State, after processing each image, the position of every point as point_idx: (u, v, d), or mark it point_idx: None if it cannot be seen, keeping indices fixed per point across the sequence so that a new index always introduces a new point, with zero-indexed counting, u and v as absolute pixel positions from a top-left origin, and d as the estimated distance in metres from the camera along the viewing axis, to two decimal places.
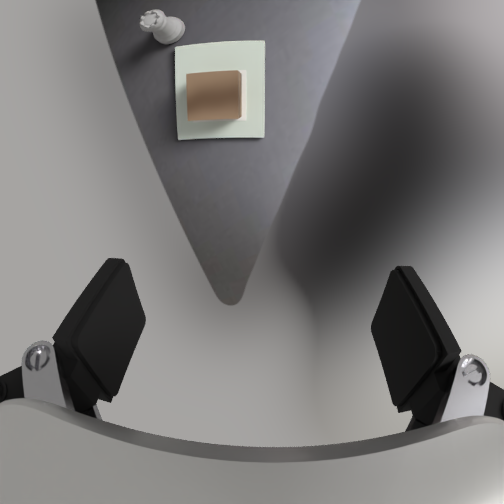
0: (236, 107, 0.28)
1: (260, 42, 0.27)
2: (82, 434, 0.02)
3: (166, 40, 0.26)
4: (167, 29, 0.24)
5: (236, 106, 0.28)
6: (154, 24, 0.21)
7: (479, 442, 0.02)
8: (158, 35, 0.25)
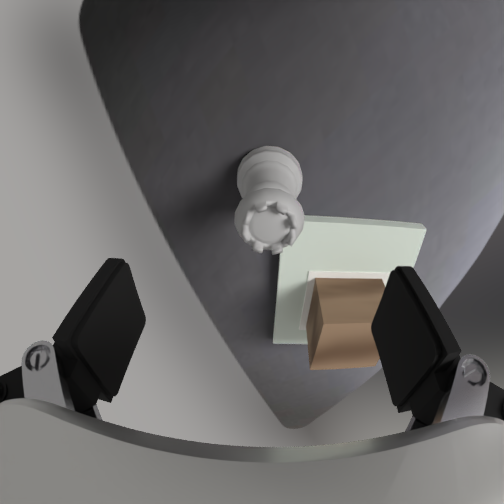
0: (378, 357, 0.20)
1: (420, 231, 0.19)
2: (82, 434, 0.02)
3: None
4: None
5: (378, 356, 0.20)
6: (281, 245, 0.12)
7: (479, 442, 0.02)
8: None
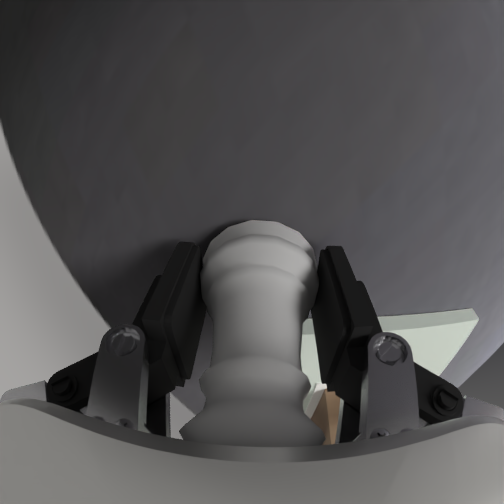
0: None
1: (471, 323, 0.11)
2: (82, 434, 0.02)
3: None
4: None
5: None
6: None
7: (479, 442, 0.02)
8: None
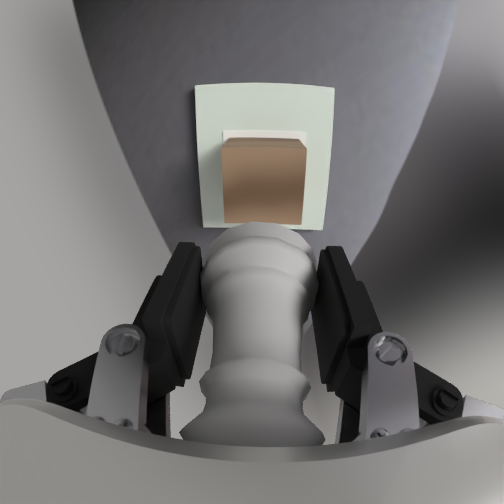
0: (300, 208, 0.20)
1: (327, 90, 0.20)
2: (82, 434, 0.02)
3: None
4: None
5: (300, 207, 0.20)
6: None
7: (479, 442, 0.02)
8: None
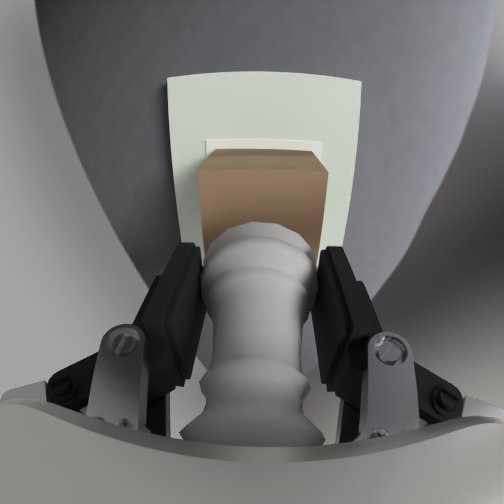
0: None
1: (352, 83, 0.13)
2: (82, 434, 0.02)
3: None
4: None
5: (314, 255, 0.14)
6: None
7: (479, 442, 0.02)
8: None
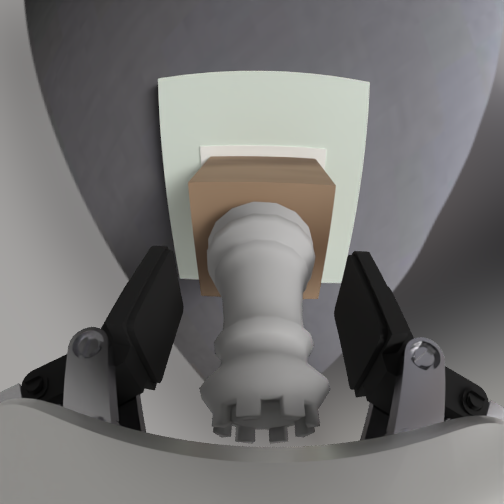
0: (318, 277, 0.13)
1: (360, 84, 0.12)
2: (82, 434, 0.02)
3: None
4: None
5: (318, 275, 0.13)
6: (286, 430, 0.06)
7: (479, 442, 0.02)
8: None
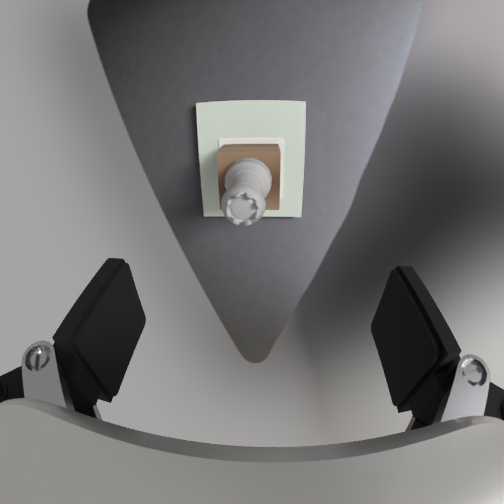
0: (277, 197, 0.26)
1: (300, 103, 0.26)
2: (82, 434, 0.02)
3: None
4: None
5: (277, 195, 0.26)
6: (250, 220, 0.19)
7: (479, 442, 0.02)
8: None
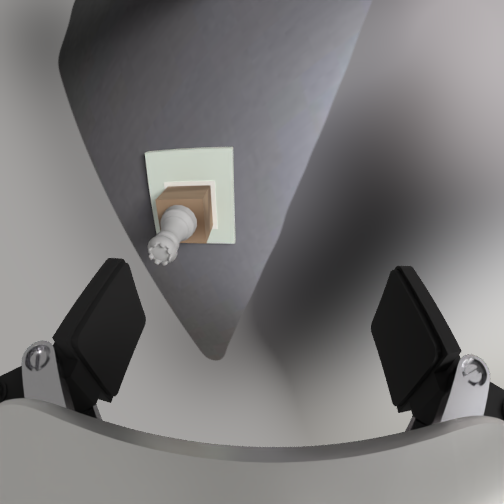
0: (204, 233, 0.33)
1: (227, 150, 0.33)
2: (82, 434, 0.02)
3: None
4: None
5: (203, 232, 0.33)
6: (166, 261, 0.26)
7: (479, 442, 0.02)
8: None
